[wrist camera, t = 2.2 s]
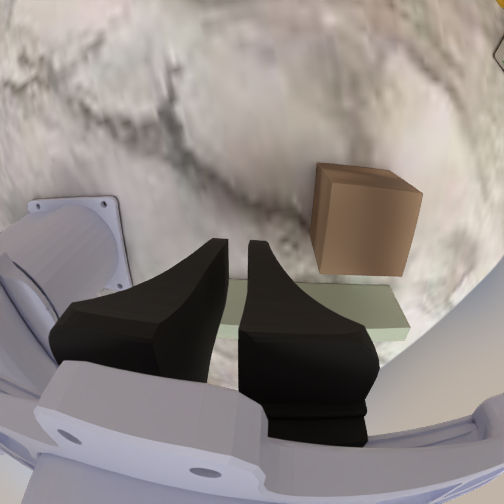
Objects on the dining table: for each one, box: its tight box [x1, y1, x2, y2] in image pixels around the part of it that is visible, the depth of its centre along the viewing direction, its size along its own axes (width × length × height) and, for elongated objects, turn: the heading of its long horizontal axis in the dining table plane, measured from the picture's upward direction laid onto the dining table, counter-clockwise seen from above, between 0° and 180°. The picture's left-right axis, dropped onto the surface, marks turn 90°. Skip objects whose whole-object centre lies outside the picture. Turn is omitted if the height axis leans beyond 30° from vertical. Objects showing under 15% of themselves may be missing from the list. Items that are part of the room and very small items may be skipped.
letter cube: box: [310, 162, 423, 277], centre depth 17 cm, size 5×5×5 cm
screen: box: [216, 279, 411, 342], centre depth 20 cm, size 15×3×5 cm, turn 89°
